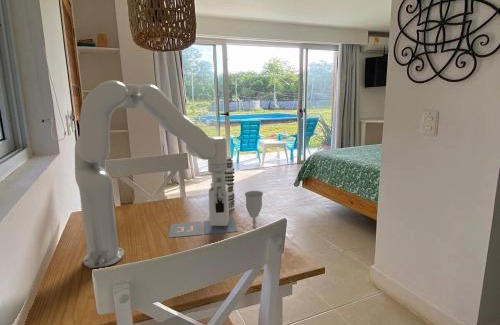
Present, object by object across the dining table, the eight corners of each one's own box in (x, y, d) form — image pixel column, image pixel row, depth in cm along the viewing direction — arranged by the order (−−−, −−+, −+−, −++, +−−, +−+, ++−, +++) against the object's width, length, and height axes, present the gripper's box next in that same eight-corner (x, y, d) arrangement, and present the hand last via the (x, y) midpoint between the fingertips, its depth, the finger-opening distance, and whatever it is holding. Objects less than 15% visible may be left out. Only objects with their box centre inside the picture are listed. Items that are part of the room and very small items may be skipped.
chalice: (257, 244, 114) (256, 197, 110) (241, 240, 118) (240, 195, 114) (266, 236, 120) (266, 192, 117) (251, 233, 124) (251, 189, 120)
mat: (237, 231, 125) (237, 231, 125) (205, 234, 123) (204, 234, 123) (233, 219, 138) (233, 218, 138) (203, 221, 135) (203, 221, 135)
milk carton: (229, 219, 133) (228, 176, 129) (227, 226, 126) (225, 181, 122) (212, 219, 134) (211, 176, 130) (209, 226, 127) (208, 181, 123)
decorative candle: (238, 209, 150) (237, 158, 145) (219, 212, 147) (217, 160, 141) (232, 203, 158) (230, 155, 153) (214, 205, 155) (212, 156, 150)
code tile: (202, 234, 123) (202, 234, 123) (168, 237, 121) (168, 237, 120) (201, 222, 135) (201, 221, 135) (170, 224, 133) (170, 224, 133)
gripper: (229, 171, 117) (230, 215, 121) (224, 162, 134) (225, 201, 138) (209, 173, 116) (211, 217, 120) (207, 163, 133) (208, 202, 136)
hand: (219, 208), depth 129 cm, fingers closed on milk carton, 8 cm apart
